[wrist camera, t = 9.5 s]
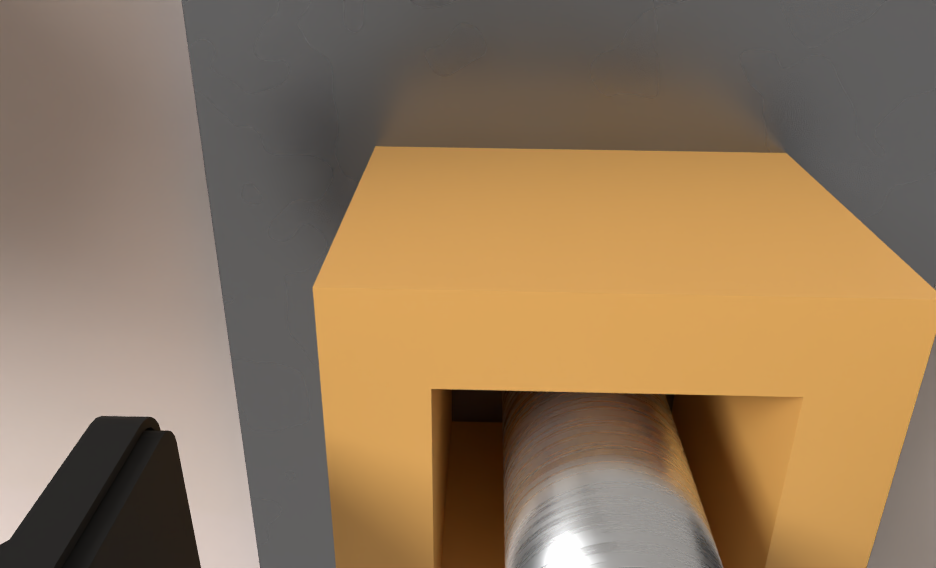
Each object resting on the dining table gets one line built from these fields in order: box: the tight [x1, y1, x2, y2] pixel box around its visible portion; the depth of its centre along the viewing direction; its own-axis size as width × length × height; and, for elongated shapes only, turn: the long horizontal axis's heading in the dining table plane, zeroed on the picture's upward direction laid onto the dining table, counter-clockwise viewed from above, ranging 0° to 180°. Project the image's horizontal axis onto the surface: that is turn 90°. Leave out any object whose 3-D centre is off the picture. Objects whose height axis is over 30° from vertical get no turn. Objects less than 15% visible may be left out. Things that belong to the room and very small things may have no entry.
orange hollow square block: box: [313, 146, 936, 568], centre depth 12 cm, size 6×6×5 cm
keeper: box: [182, 0, 936, 568], centre depth 11 cm, size 16×12×9 cm
